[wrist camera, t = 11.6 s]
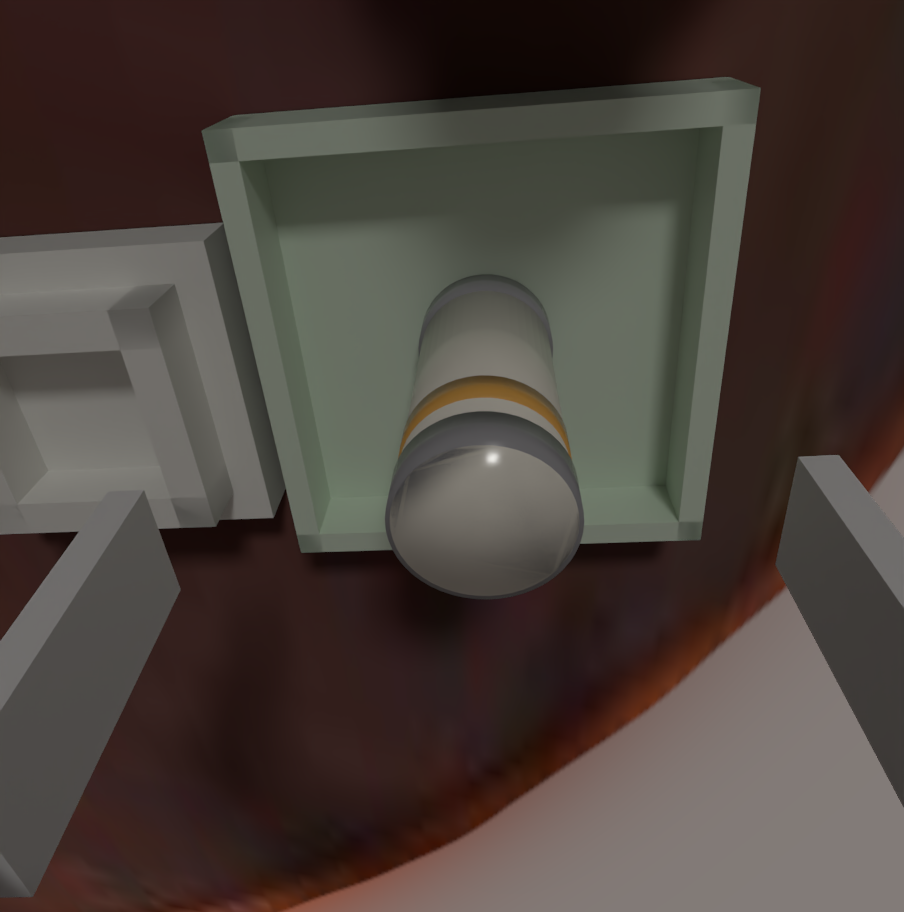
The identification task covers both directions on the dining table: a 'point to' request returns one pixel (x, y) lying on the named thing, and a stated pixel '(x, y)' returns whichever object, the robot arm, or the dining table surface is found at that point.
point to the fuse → (485, 449)
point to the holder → (129, 381)
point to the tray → (498, 253)
